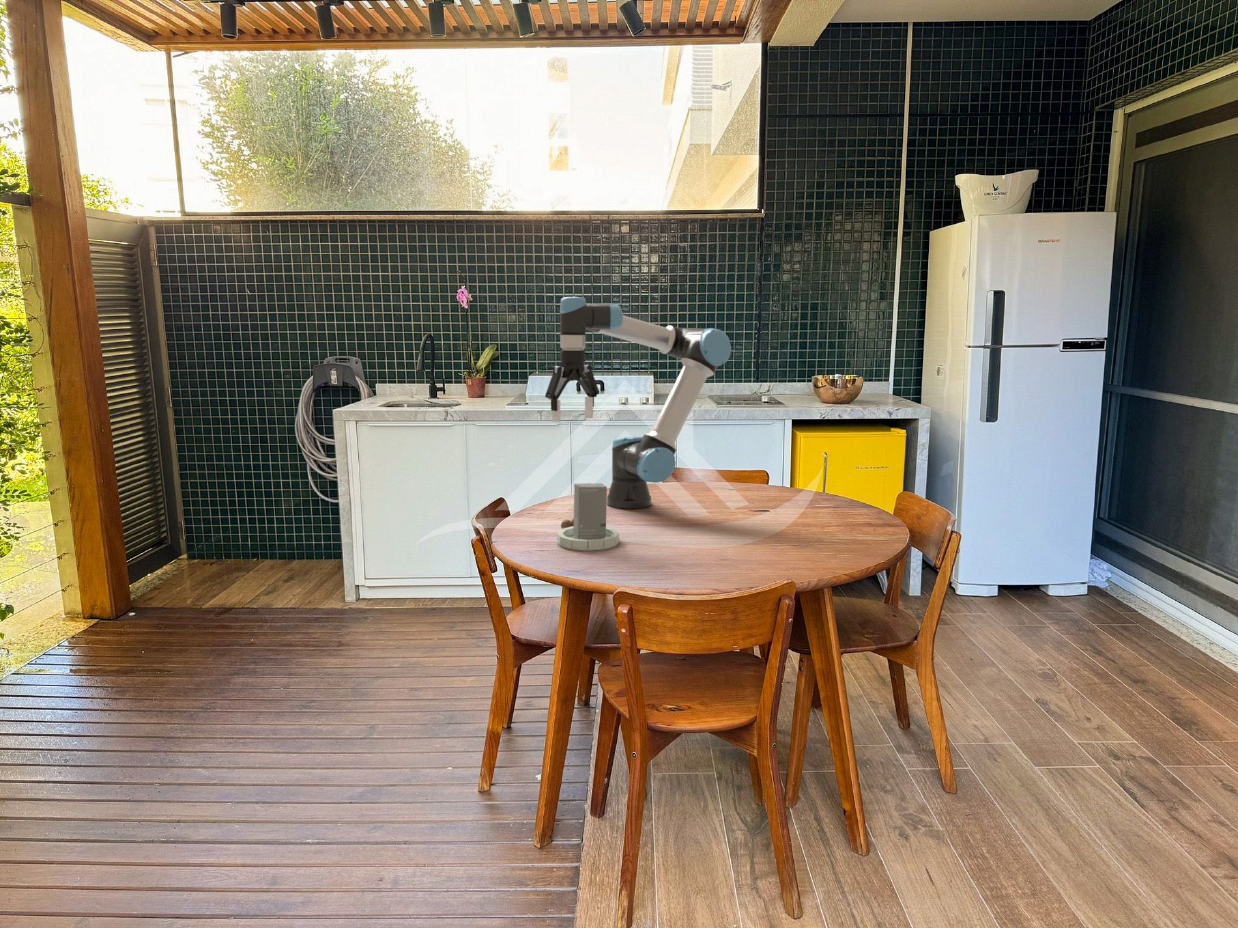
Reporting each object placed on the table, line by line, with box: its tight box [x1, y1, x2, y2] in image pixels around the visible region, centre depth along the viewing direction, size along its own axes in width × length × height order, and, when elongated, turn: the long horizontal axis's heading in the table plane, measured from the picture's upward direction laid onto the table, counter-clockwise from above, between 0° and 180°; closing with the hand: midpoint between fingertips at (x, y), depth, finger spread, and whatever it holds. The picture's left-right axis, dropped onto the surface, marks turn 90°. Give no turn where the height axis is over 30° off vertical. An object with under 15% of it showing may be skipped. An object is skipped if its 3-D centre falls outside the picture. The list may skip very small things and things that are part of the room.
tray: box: [556, 526, 620, 552], centre depth 234 cm, size 17×17×3 cm
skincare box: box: [573, 482, 608, 540], centre depth 234 cm, size 8×7×16 cm
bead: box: [560, 519, 573, 529], centre depth 246 cm, size 4×4×4 cm
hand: (572, 419), depth 253 cm, fingers open, 13 cm apart
